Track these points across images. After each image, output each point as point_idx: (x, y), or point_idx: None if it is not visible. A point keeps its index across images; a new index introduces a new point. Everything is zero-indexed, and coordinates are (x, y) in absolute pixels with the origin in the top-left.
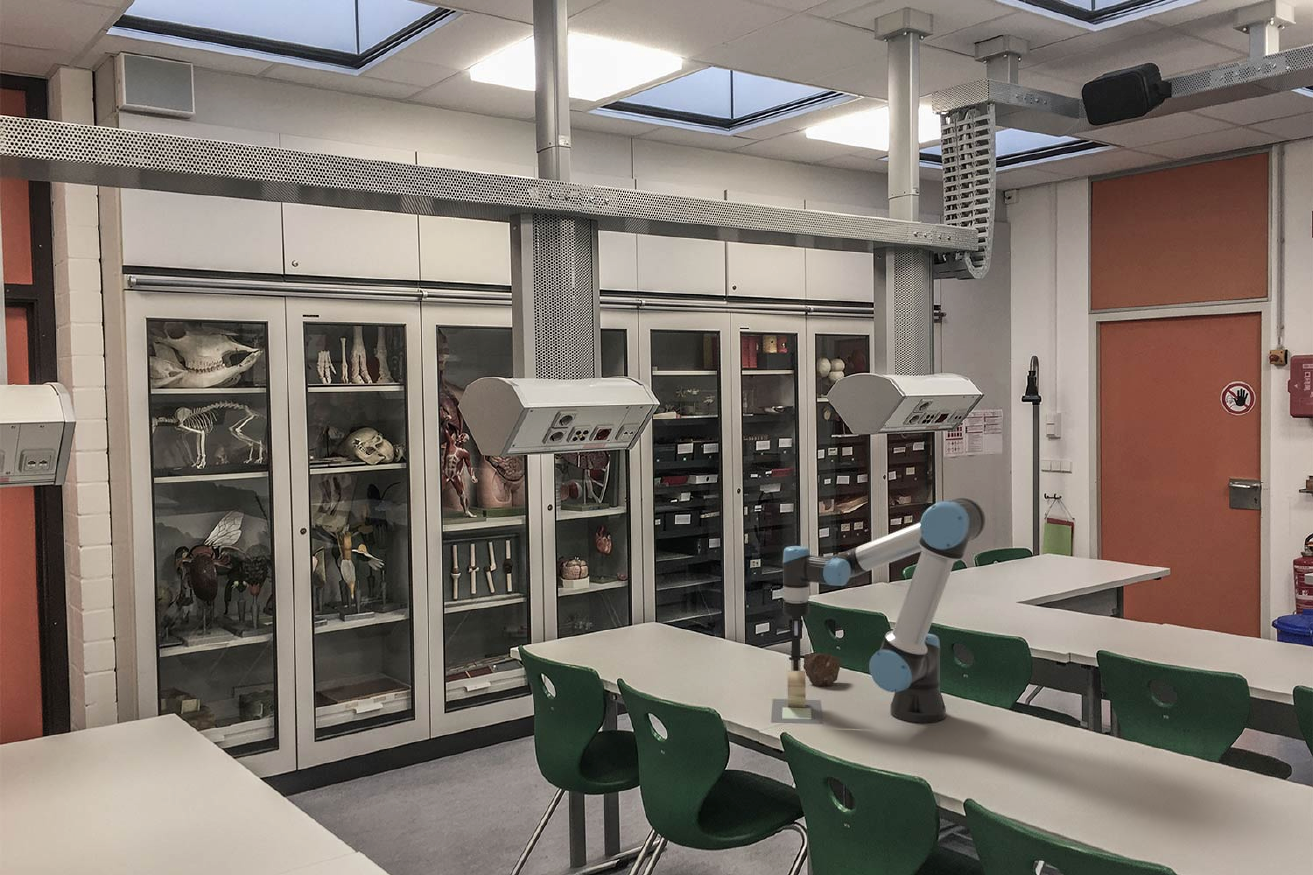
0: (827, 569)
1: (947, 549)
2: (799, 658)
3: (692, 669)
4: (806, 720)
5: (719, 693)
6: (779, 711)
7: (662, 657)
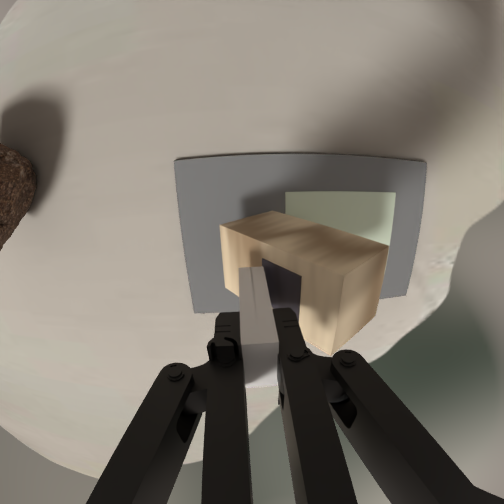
0: None
1: None
2: (359, 358)
3: (65, 416)
4: (401, 207)
5: None
6: None
7: (46, 429)
